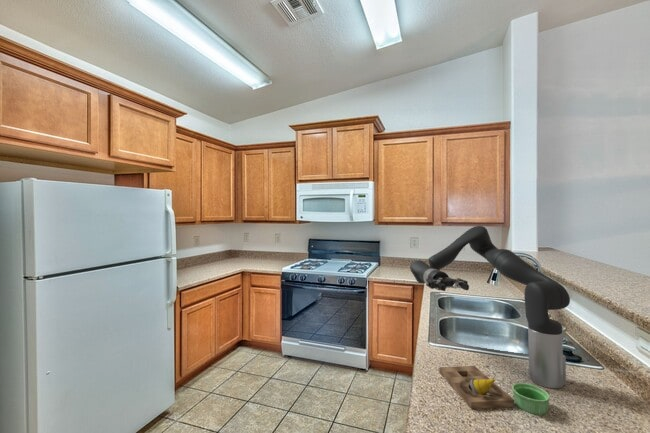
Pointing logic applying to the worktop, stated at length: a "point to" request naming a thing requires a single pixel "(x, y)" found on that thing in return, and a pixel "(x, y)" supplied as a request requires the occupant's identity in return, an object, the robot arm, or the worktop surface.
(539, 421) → the worktop surface
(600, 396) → the worktop surface
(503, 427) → the worktop surface
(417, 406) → the worktop surface
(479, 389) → the drill bit
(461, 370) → the socket board
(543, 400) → the ramekin
